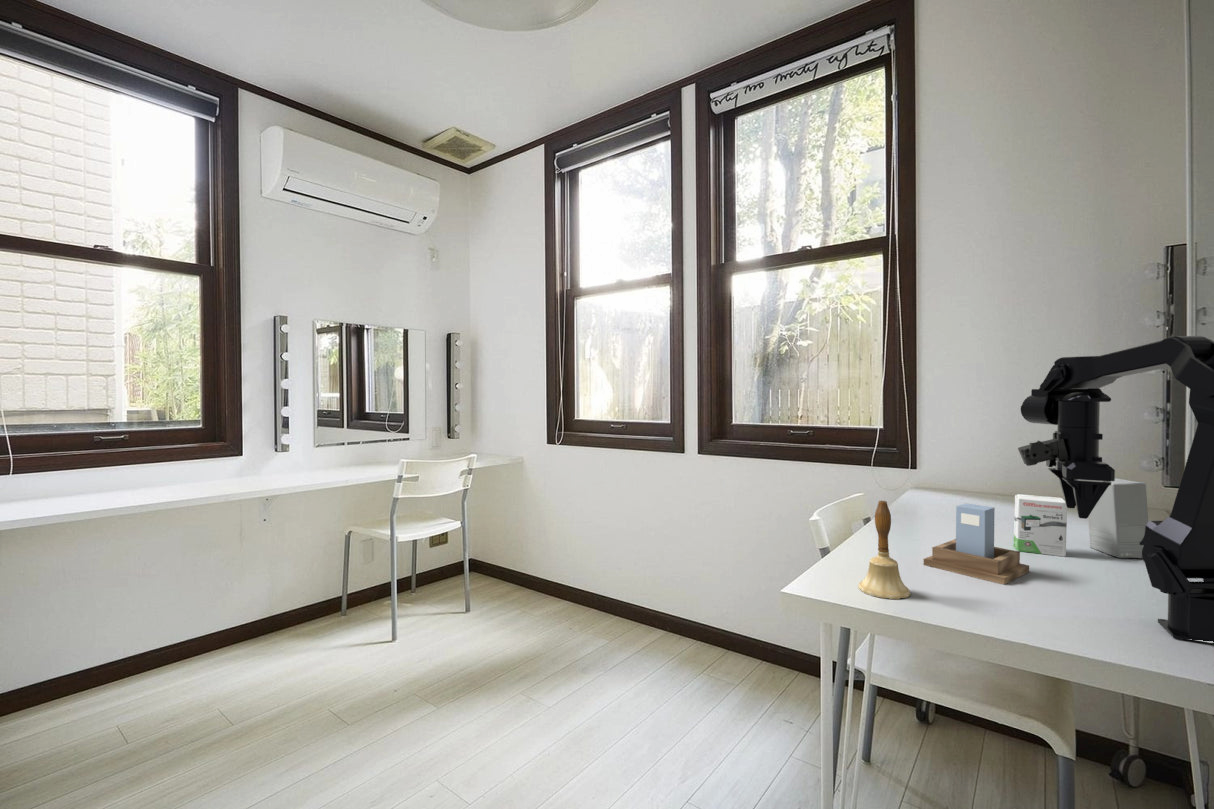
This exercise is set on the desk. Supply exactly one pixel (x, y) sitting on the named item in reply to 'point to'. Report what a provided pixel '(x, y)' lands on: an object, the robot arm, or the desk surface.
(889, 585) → the hand bell
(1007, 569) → the tray
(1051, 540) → the ink box
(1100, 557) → the desk surface
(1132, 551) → the skincare box
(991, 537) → the box
